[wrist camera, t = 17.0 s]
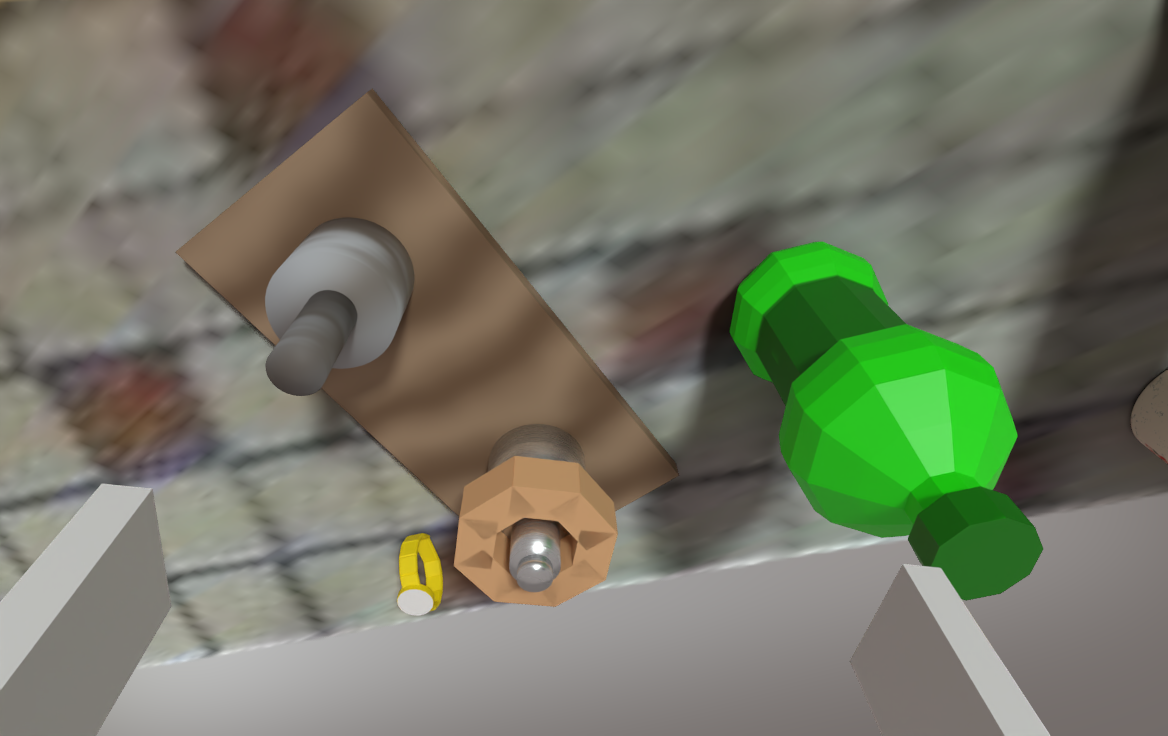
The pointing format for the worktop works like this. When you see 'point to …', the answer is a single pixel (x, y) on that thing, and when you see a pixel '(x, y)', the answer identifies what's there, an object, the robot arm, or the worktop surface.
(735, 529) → the worktop surface
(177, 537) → the worktop surface
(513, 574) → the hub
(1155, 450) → the teacup with lid
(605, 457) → the tool board
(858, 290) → the plastic bottle
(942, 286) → the worktop surface
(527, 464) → the octagonal notched ring
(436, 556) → the watch
